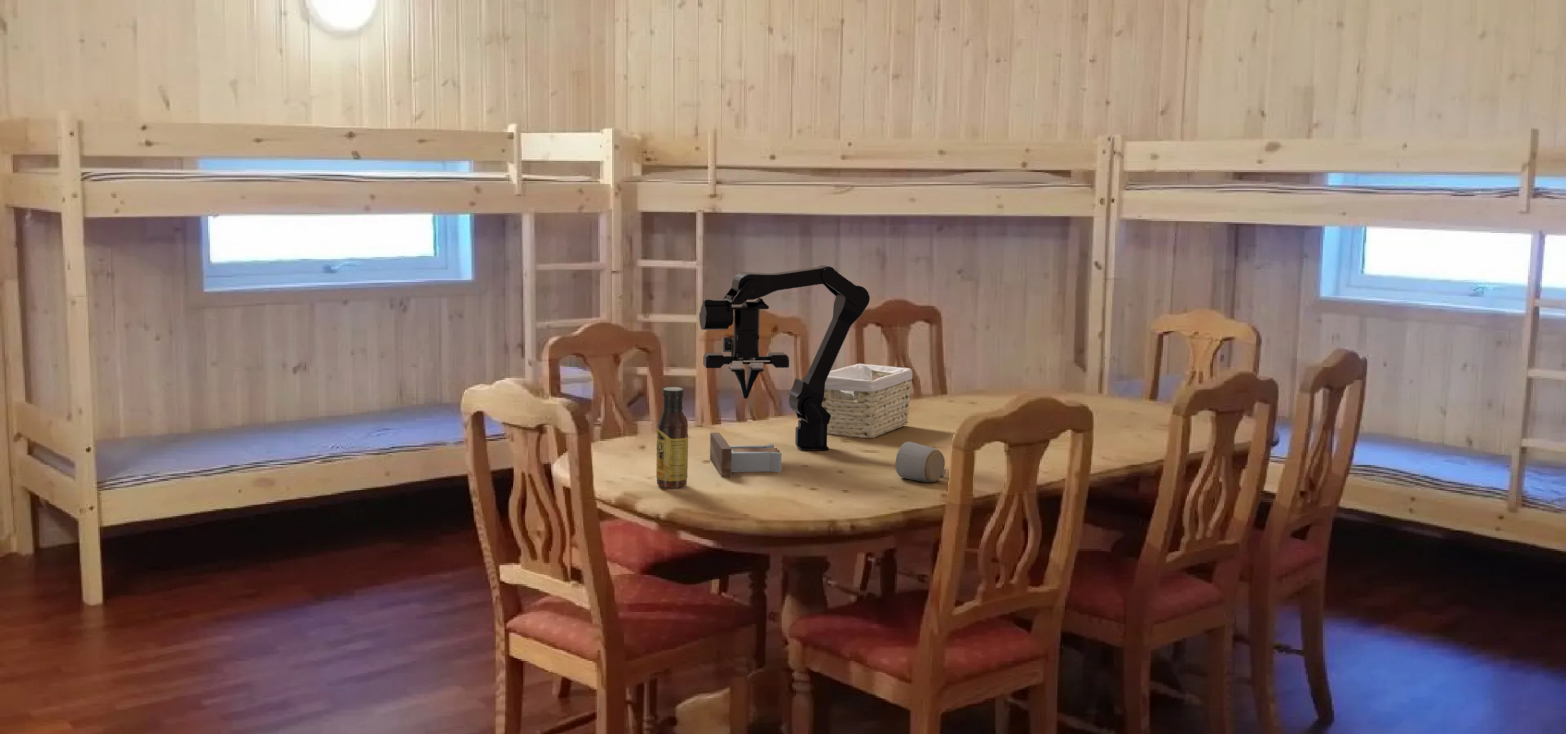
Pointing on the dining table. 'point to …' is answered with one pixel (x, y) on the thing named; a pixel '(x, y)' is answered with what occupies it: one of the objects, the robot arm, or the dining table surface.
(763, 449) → the rectangular wooden block
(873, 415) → the storage basket
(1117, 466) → the dining table surface
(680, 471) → the sauce bottle
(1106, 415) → the dining table surface
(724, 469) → the backstop
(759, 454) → the cradle
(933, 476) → the ceramic mug
